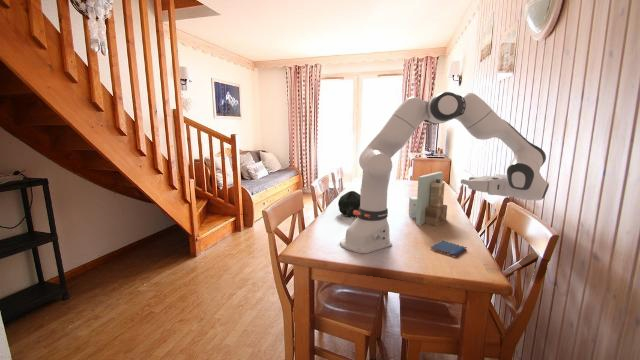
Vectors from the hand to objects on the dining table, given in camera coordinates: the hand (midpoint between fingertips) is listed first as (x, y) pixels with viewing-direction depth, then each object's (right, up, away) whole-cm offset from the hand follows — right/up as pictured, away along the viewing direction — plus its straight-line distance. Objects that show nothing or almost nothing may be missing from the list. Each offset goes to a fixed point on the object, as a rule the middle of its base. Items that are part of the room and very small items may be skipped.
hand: (465, 180), depth 133 cm
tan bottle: (-7, -13, +15) cm, 21 cm away
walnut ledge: (-7, -21, +16) cm, 27 cm away
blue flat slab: (-16, -28, -17) cm, 37 cm away
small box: (-14, -20, +24) cm, 34 cm away
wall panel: (-10, -21, +18) cm, 29 cm away
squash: (-49, -20, +28) cm, 59 cm away
